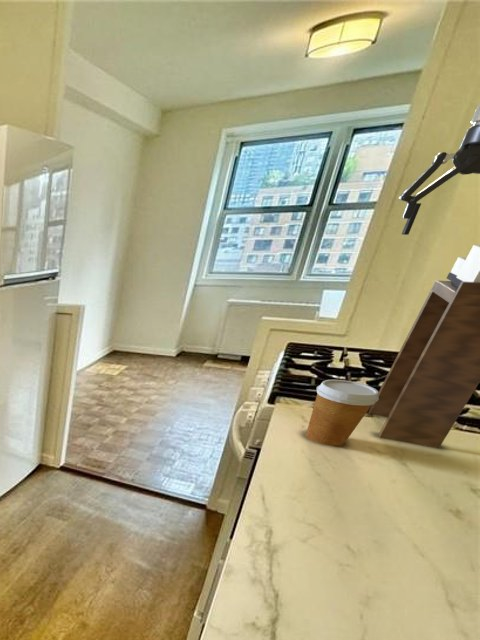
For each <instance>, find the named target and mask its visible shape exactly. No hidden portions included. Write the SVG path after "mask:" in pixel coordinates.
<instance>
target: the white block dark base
mask: <svg viewBox="0 0 480 640" xmlns="http://www.w3.org/2000/svg"><path fill="white" fill-rule="evenodd" d="M446 279H447V281H452V285H454V286H456V287H459V285H460V283H461V281H468V282H480V244H473V245H472V247H471V249H470V250H469V252H468V255H467V256H466V257H463V256H462V257H461V256H457V259H456V261H455V262H454V264H453V266H452V268H451V271H450V272H449V273H448V274H447V275H446Z"/></svg>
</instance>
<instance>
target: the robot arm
mask: <svg viewBox="0 0 480 640" xmlns="http://www.w3.org/2000/svg"><path fill="white" fill-rule="evenodd" d="M470 123H471V124H473V125H471V126H470V127H468V128H467V129H466V132H465V135H464V137H463V139H462V142H461V144H460V147H459V148H458V150H457V151H456V152H455V153H451V152H445V151H442V152H439V153H437V154H436V155H435V156H434V159H433V160H432V162H431V164H430V165H429V166H428V167H427V168H426V169H425V170H424V171H423V172H422V173H421V174H420V175H419V176H418V177H417V178H416V180H414V182H412V183H411V184H410V185H409V187H407V188H406V190H405V191H404V192H403V193H401V195H399V197H398V200H399V201H402V202H405V203H407V204H406V207H405V208H404V212H403V214H402V219H403V220H405V219H407V220H406V222H405V225H404V227H403V229H402V231H401V235H405V236H406V235H408V236H409V234H410V232H411V229H412V227H413V225H414V223H415V219H416V218H417V215H418V213H419V210H420V209H421V206H422V203H421V202H419V201H420V200H422V199H423V198H425V197H426V196H428V195H429V194H430V193H432V192H433V191H435V190H437V188H439V187H440V186H442V185H444V183H446V182H447V181H449V180H451V179H452V178H453V177H456V176H457V175H458V174H460V175H461V176H465V175H472V174H475V175H480V101H479V102H478V105H477V107H476V109H475V111H474V114H473V116H472V118H471V121H470ZM450 160H451V162H452V163H453V165H454V166H453V167H451V169H449V170H447V171H446V172H445V173H444V174H442V175H441V176H439V177H438V178H437V179H435V180H434V181H432V182H431V183H429V184H428V185H427V186H425V187H424V188H423V189H421V190H419V191H418V189H419V188H420V187H421V186H422V185H423V184H424V183H425V182H426V181H427V180H428V179H429V178H430V177H431V176H432V175H433V174H434V173H435V172H436V171H437V170H438V169H439V168H440V167H441V165H444V164H446V163H448V161H450ZM416 191H418V192H417V193H416V194H414V193H415V192H416ZM413 194H414V195H413ZM418 202H419V203H418Z"/></svg>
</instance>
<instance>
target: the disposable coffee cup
mask: <svg viewBox="0 0 480 640" xmlns="http://www.w3.org/2000/svg"><path fill="white" fill-rule="evenodd" d="M378 392H379V390H378V389H376V388H375V387H372V386H370V385H367V384H364V383H360V382H357V381H351V380H344V379H325V380H323V381H322V382H321V383H320V384H319V385H317V386H316V393H317V394H316V397H315V401H314V403H313V407H312V411H311V415H310V419H309V422H308V426H307V430H306V433H305V436H306V438H308V439H309V440H310V441H312V442H314V443H317V444H321V445H326V446H333V447H339V446H344V445H345V444H346V442H347V440H348V439H349V438H350V437H351V435H352V434H353V432H354V431H355V430H356V428H357V427H358V425H359V423H360V422H361V421H362V419H363V418H364V417H365V416H366V414H367V413H368V412H369V410H370V408H371V406H372V404H374V403H375V402H377V401H378V399H379V398H378Z"/></svg>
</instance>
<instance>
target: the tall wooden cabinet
mask: <svg viewBox="0 0 480 640" xmlns="http://www.w3.org/2000/svg"><path fill="white" fill-rule="evenodd" d="M479 384H480V282H468V281H461V283H460V285H459V287H456V286H454V285H452V281H450V280H435V281H434V283H433V285H432V287H431V289H430V291H429V293H428V295H427V297H426V298H425V301H424V303H423V304H422V306H421V308H420V310H419V312H418V314H417V317H416V319H415V320H414V322H413V324H412V326H411V328H410V330H409V332H408V335H407V336H406V338H405V340H404V342H403V343H402V345H401V347H400V349H399V351H398V353H397V355H396V357H395V359H394V361H393V363H392V365H391V367H390V369H389V371H388V372H387V375H386V377H385V379H384V380H383V383H382V385H381V386H380V389H379V390H378V398H379V399H378V401H377V402H375V403H374V404H372V406H371V407H370V408H369V410H368V414H369V415H373V416H380V417H386V419H385V421H384V424H383V425H382V427H381V429H380V431H379V432H378V437H379V438H380V439H386V440H391V441H397V442H403V443H408V444H413V445H419V446H424V447H428V448H429V447H430V448H433V449H434V448H435V449H440V448H441V446H442V445H443V443H444V441H445V440H446V438H447V436H448V434H449V433H450V431H451V430H452V428H453V427H454V425H455V423H456V421H457V420H458V418H459V417H460V415H461V414H462V411H463V410H464V408H465V407H466V406H467V403H468V402H469V400H470V399H471V397H472V395H473V394H474V392H475V390H476V389H477V387H478V386H479Z"/></svg>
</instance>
